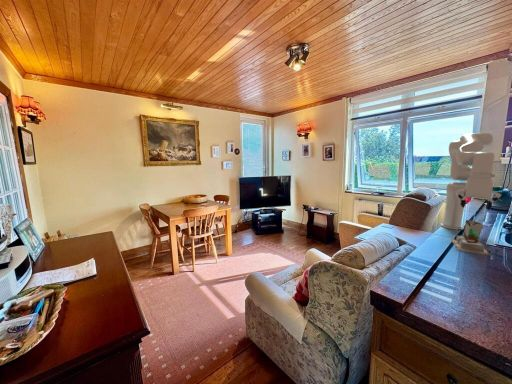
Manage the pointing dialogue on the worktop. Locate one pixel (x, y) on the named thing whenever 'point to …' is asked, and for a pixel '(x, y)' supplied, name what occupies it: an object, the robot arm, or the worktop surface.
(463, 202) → the robot arm
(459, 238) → the beige rectangular frame
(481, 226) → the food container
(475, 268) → the worktop surface
